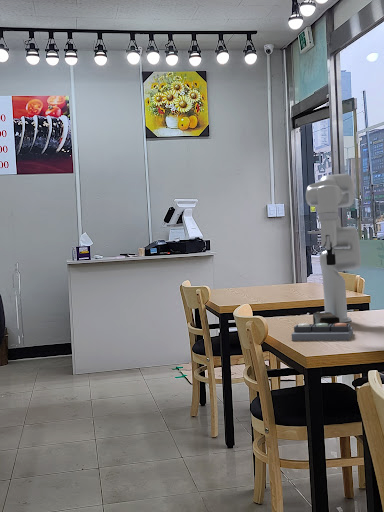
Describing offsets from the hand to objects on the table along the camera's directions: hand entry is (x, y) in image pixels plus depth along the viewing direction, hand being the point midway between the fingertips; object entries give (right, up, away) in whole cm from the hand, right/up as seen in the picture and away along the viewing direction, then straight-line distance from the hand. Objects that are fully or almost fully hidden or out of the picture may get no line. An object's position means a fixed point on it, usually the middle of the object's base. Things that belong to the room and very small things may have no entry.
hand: (331, 264), depth 245 cm
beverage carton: (+1, -27, +15) cm, 31 cm away
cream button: (-11, -25, -1) cm, 27 cm away
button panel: (-4, -28, -3) cm, 28 cm away
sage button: (-4, -25, -3) cm, 25 cm away
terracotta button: (+2, -24, -6) cm, 25 cm away
